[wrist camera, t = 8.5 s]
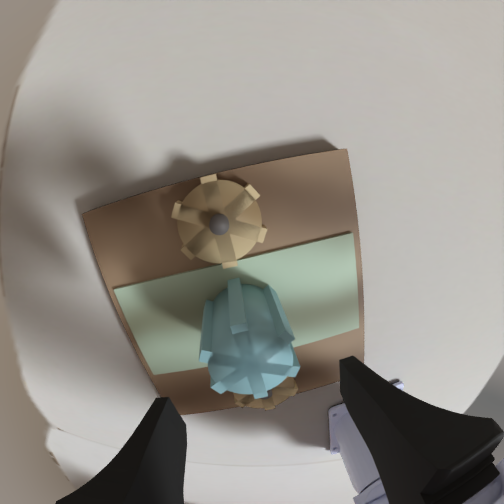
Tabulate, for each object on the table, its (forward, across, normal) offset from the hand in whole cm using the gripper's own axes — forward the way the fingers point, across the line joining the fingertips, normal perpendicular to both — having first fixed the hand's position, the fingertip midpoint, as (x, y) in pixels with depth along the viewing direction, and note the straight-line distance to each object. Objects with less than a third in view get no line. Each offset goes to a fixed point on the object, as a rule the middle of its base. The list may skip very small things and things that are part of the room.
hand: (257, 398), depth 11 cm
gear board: (+8, 0, 0) cm, 9 cm away
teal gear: (+7, 0, 0) cm, 7 cm away
